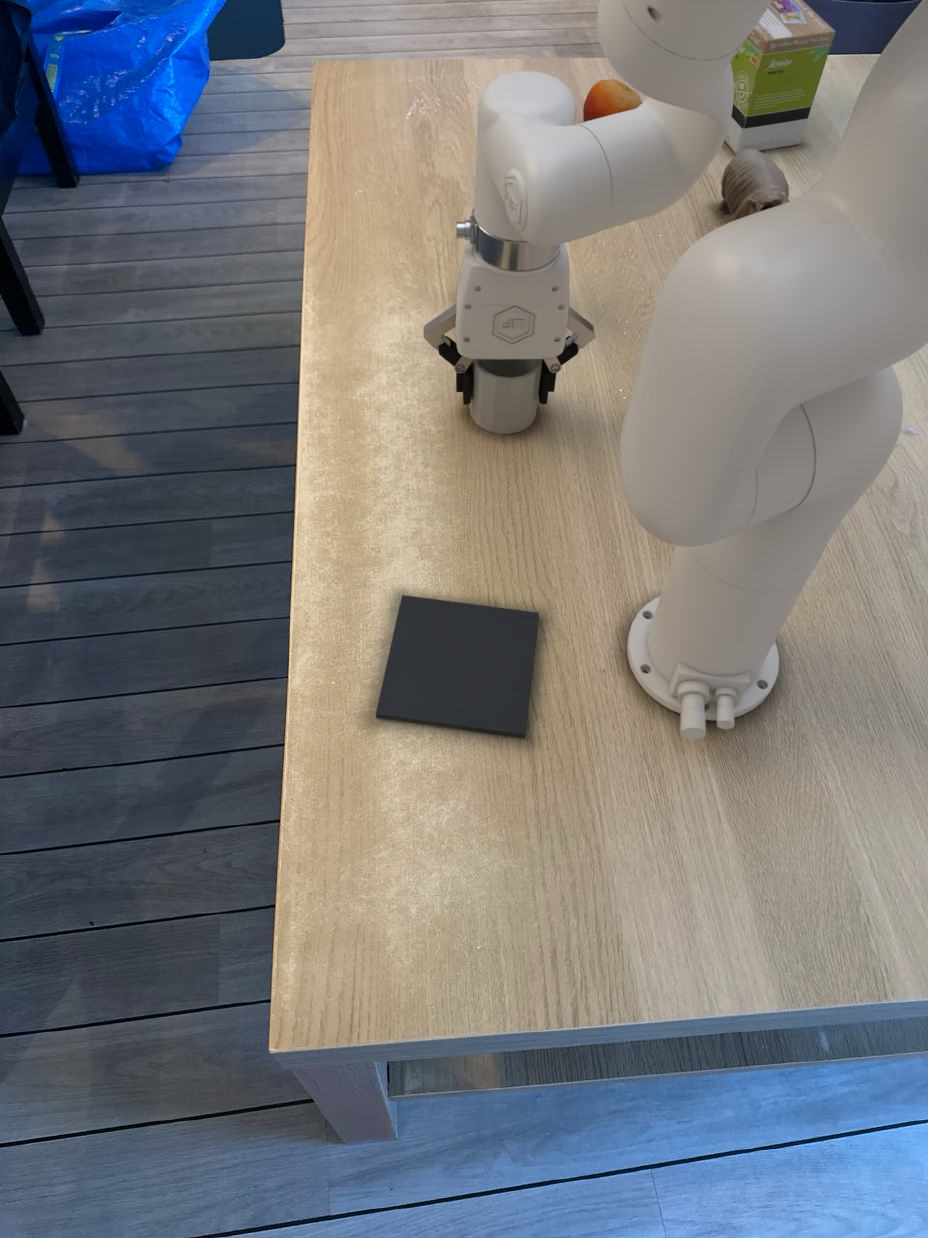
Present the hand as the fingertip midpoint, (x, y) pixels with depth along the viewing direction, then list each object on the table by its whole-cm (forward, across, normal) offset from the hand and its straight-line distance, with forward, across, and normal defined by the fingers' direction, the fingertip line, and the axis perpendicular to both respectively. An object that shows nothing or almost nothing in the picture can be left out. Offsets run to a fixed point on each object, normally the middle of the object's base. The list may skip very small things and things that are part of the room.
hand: (504, 394), depth 96 cm
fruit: (+2, +17, +53) cm, 56 cm away
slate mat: (+2, -5, -31) cm, 31 cm away
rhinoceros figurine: (+2, +30, +28) cm, 41 cm away
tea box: (+2, +36, +56) cm, 67 cm away
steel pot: (+2, 0, 0) cm, 2 cm away
